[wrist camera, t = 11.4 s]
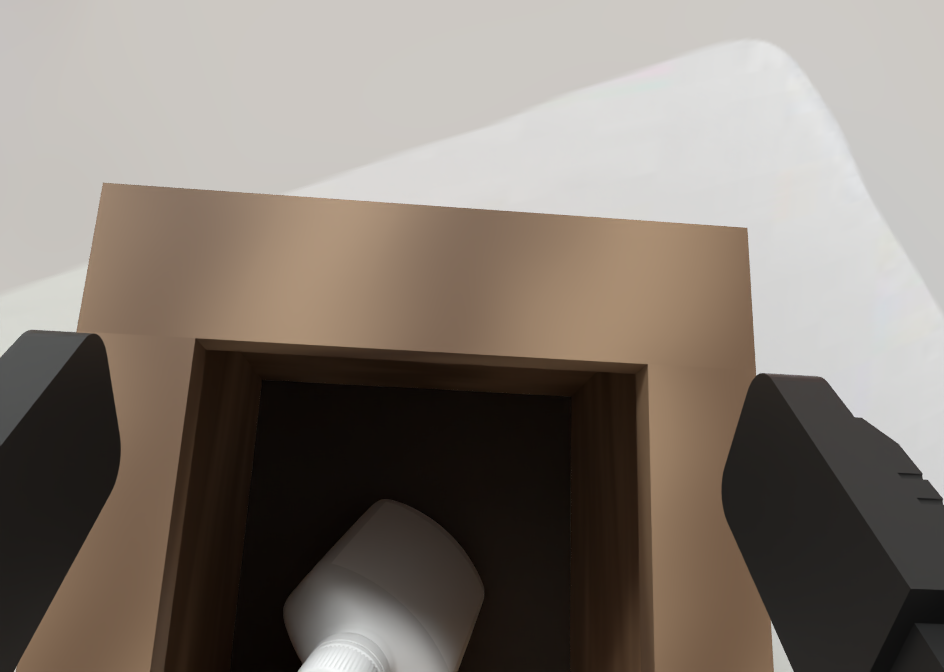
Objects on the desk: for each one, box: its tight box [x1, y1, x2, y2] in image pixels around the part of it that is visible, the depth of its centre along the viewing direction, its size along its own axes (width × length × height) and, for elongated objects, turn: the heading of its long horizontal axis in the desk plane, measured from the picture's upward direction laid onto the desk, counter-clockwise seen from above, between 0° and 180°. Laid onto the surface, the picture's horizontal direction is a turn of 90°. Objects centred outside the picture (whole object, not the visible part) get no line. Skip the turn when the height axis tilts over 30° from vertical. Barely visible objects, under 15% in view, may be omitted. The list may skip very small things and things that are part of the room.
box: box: [16, 183, 774, 672], centre depth 24 cm, size 15×15×16 cm
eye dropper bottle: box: [283, 499, 485, 672], centre depth 25 cm, size 4×6×12 cm
